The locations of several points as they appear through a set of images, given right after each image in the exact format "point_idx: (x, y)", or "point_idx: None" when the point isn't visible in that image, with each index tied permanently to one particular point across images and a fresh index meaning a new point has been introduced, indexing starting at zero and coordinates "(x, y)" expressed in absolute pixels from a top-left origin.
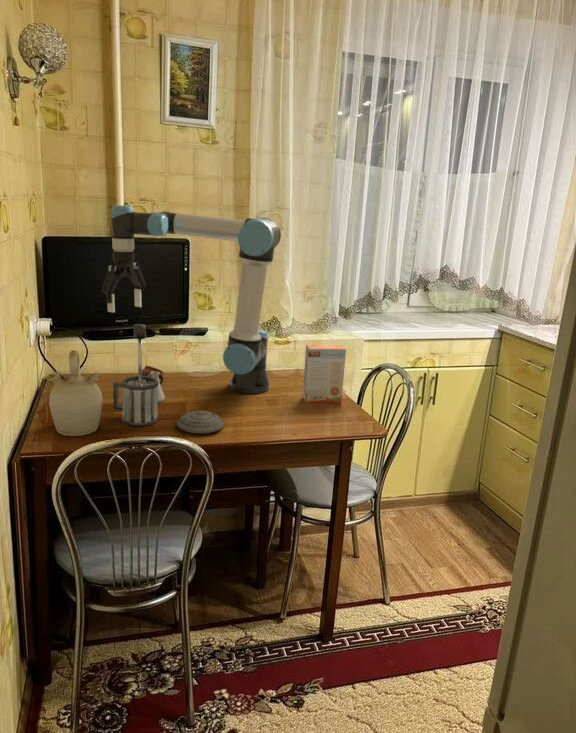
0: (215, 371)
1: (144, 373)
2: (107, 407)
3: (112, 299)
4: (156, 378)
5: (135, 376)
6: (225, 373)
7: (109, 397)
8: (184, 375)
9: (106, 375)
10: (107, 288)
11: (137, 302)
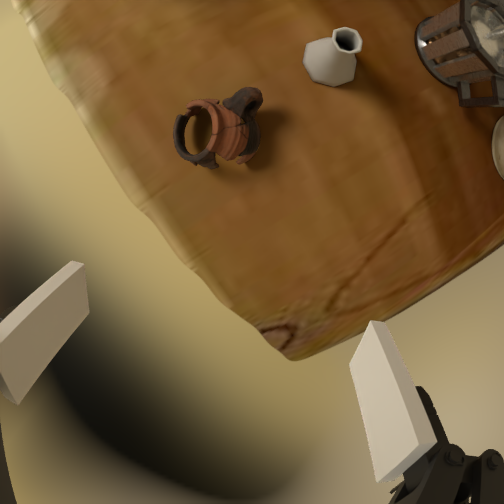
0: (57, 67)
1: (243, 136)
2: (426, 143)
3: (417, 404)
4: (351, 36)
5: (484, 52)
6: (61, 41)
7: (370, 172)
8: (112, 101)
9: (222, 273)
10: (502, 484)
11: (69, 305)
